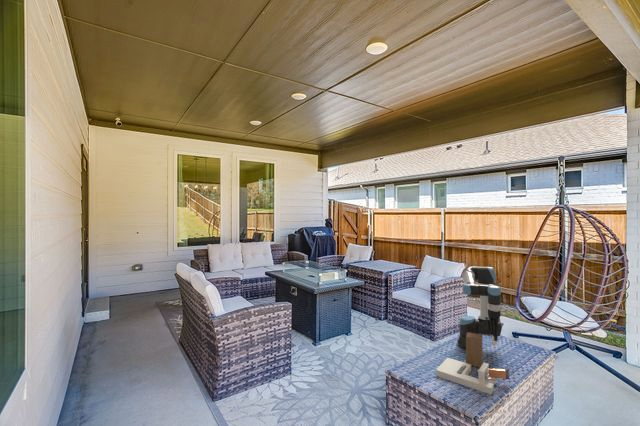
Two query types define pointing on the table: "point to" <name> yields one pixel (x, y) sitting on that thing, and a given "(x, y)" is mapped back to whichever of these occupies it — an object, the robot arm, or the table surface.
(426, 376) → the table surface
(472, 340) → the wooden block
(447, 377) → the stand
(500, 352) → the table surface
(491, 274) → the robot arm
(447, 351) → the table surface
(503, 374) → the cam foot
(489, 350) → the table surface
